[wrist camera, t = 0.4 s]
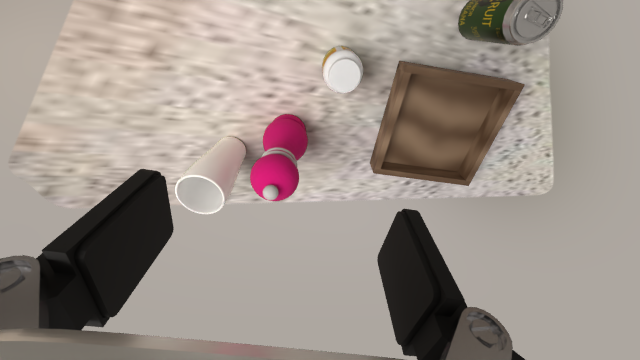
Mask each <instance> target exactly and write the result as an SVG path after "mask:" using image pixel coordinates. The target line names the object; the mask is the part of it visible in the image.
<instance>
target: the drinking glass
mask: <svg viewBox="0 0 640 360" xmlns="http://www.w3.org/2000/svg"><path fill="white" fill-rule="evenodd" d="M245 156H246V148H245V146H244V144H243V143H242V142H241V141H240V140H239V139H237V138H234V137H224V138H222V139H220V140H219V141H218V143H217V144H216V145H215V146H213V147H212V148H211V149H210V150H209V151H208V152H206V153H205V154H204V155H203V156H202V157H200V158H199V159H198V160H197V161H196V162H195V163H193V164H192V165H191V166H190V167H189V168H188V169H187V171H186V172H185V173H184V174H183V175H182V177H181V178H180V179H179V181H178V182H177V184H176V187H175V193H176V196H177V198H178V200H179V201H180V203H181V204H182V205H183V206H184V207H186V208H187V209H189V210H191V211H193V212H196V213H200V214H212V213H215V212H218V211H219V210H220V209H221V208H222V207H223V205H224V204H225V202H226V201H227V199H228V197H229V196H230V194H231V192H232V189H233V187H234V184H235V182H236V179H237V176H238V173H239V170H240V168H241V165H242V162H243V160H244V158H245Z"/></svg>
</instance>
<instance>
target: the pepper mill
mask: <svg viewBox="0 0 640 360" xmlns="http://www.w3.org/2000/svg"><path fill="white" fill-rule="evenodd" d="M307 143H308V139H307V134H306V129H305V126H304V124H303V122H302V121H301V120H300V119H299V118H298V117H296V116H294V115H290V114H285V115H281V116H279V117H277V118H276V119H275V120H274V121H273V122H272V123H271V124H270V125H269V126H268V127H267V128H266V130H265V133H264V136H263V146H264V149H265V153H264V154H263V155H262V157H261V158H260V159H258V160H257V161H256V163H255V164H254V166H253V167H252V170H251V175H250V180H251V185H252V187H253V189H254V191H255V192H256V193H257V194H258V195H259V196H260V197H262V198H264V199H266V200H270V201H280V200H283V199H286V198H288V197H289V196H290V195H292V194H293V193H294V191H295V190H296V188H297V186H298V182H299V173H298V169H297V160H298V159H299V158H301V156H302V155H303V154H304V153H305V150H306V148H307Z"/></svg>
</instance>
